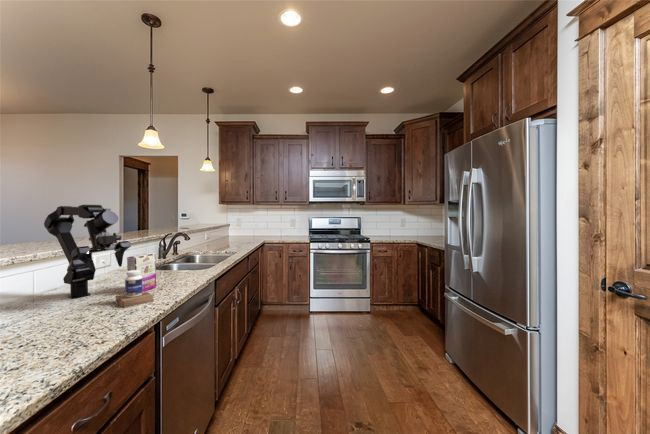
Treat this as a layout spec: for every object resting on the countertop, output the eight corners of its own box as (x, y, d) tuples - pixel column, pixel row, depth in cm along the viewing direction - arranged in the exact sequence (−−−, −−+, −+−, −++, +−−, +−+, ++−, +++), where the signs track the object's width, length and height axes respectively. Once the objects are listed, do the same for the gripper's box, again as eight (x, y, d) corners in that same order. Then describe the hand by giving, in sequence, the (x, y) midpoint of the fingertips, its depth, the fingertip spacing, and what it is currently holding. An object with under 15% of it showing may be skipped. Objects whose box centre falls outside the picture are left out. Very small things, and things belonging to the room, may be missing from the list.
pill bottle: (127, 298, 109) (127, 273, 109) (123, 295, 112) (122, 271, 112) (144, 295, 113) (144, 270, 113) (139, 292, 117) (139, 268, 117)
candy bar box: (147, 286, 135) (147, 252, 135) (156, 287, 134) (156, 253, 134) (126, 293, 124) (126, 256, 124) (136, 294, 123) (135, 257, 123)
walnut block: (115, 302, 112) (115, 296, 112) (143, 296, 120) (143, 290, 120) (124, 307, 106) (123, 301, 106) (153, 301, 114) (153, 295, 114)
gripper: (78, 228, 103) (89, 268, 101) (132, 224, 120) (142, 258, 118) (66, 238, 108) (76, 276, 106) (119, 233, 125) (129, 266, 123)
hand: (108, 268), depth 113 cm, fingers open, 9 cm apart
